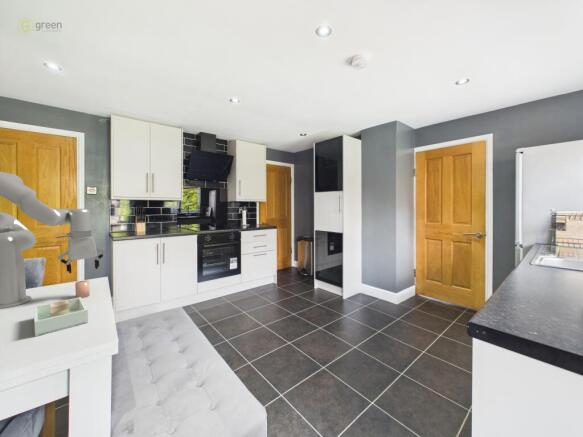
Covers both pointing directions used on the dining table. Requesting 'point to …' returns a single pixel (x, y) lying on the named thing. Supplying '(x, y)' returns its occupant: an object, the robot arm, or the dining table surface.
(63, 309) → the wooden cube
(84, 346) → the dining table surface
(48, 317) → the tote
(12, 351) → the dining table surface
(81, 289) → the terracotta cylinder
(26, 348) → the dining table surface
